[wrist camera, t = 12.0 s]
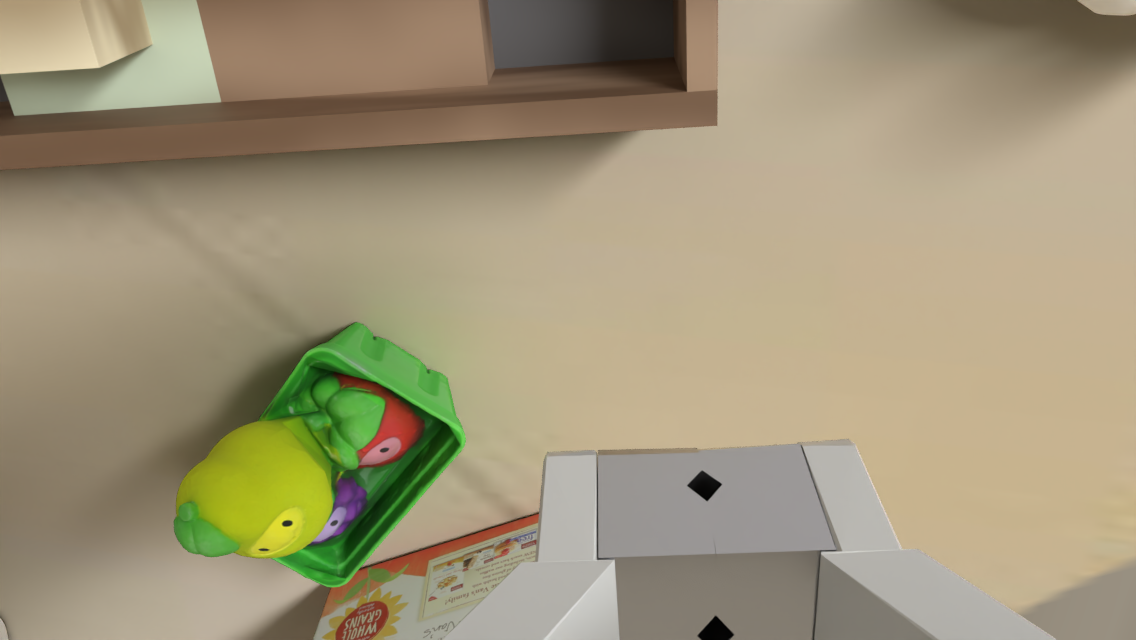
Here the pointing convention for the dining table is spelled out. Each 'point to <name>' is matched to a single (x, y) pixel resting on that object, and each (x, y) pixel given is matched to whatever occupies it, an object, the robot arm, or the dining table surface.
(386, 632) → the cracker box
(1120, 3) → the white rounded piece
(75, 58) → the maple block
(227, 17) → the trap lane
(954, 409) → the dining table surface
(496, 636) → the robot arm
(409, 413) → the fruit basket
